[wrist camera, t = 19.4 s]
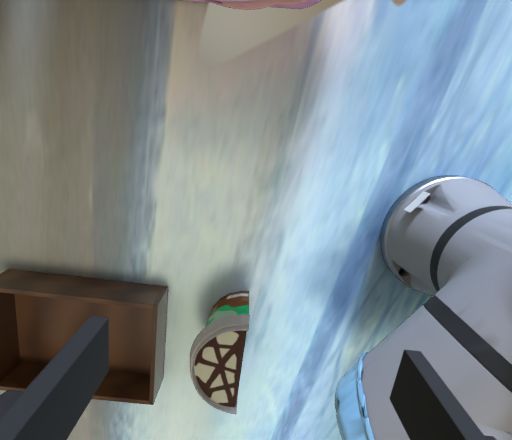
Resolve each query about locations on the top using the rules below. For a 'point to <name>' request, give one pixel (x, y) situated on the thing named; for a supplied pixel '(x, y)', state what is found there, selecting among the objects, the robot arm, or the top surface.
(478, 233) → the robot arm
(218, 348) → the food container
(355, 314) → the top surface
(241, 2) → the flower arrangement
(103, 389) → the wooden tray
